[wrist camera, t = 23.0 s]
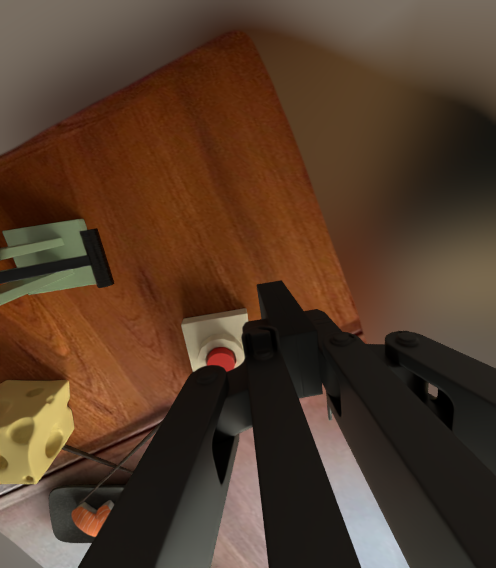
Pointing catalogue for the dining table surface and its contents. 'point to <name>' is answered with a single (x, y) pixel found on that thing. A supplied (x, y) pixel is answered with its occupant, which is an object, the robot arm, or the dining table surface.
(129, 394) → the dining table surface
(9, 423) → the cheese
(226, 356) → the stop button
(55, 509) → the sushi plate
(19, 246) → the switch bracket
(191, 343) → the control block
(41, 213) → the dining table surface
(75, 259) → the lever
